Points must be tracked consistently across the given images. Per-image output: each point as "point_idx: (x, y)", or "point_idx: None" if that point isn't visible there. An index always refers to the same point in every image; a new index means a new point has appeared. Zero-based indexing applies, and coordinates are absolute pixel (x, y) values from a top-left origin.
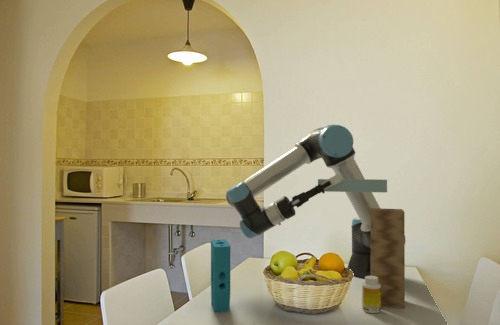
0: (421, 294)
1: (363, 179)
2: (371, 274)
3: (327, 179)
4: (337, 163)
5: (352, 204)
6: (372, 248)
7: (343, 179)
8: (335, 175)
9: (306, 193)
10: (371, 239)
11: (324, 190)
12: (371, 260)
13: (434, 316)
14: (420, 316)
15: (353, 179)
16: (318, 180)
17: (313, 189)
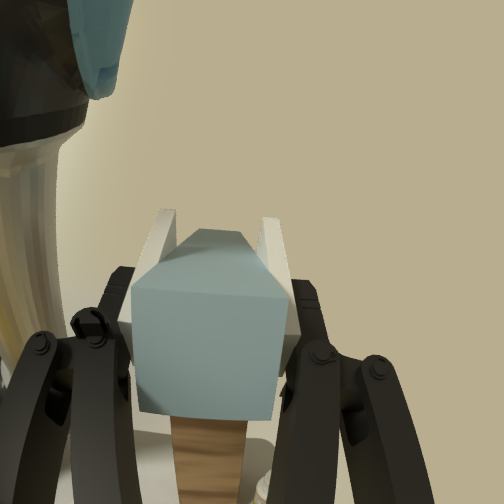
0: (146, 437)
1: (202, 235)
2: (239, 480)
3: (266, 271)
4: (57, 133)
5: (16, 348)
6: (245, 437)
7: (227, 249)
8: (280, 230)
9: (417, 482)
10: (247, 421)
11: (282, 374)
12: (242, 460)
13: (254, 441)
14: (263, 455)
15: (213, 241)
16: (286, 309)
17: (399, 407)
